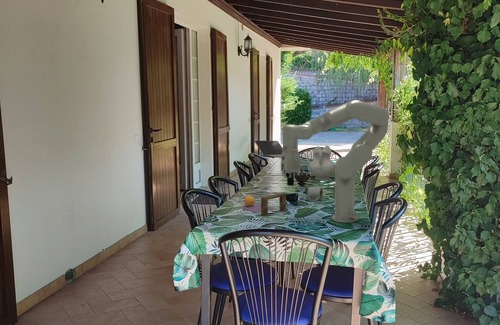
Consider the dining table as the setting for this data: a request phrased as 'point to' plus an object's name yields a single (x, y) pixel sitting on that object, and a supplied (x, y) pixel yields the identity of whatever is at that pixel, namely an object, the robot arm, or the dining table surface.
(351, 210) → the robot arm
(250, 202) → the ball
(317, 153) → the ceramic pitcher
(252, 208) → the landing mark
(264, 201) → the bridge
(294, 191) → the dining table surface
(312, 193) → the ceramic mug
